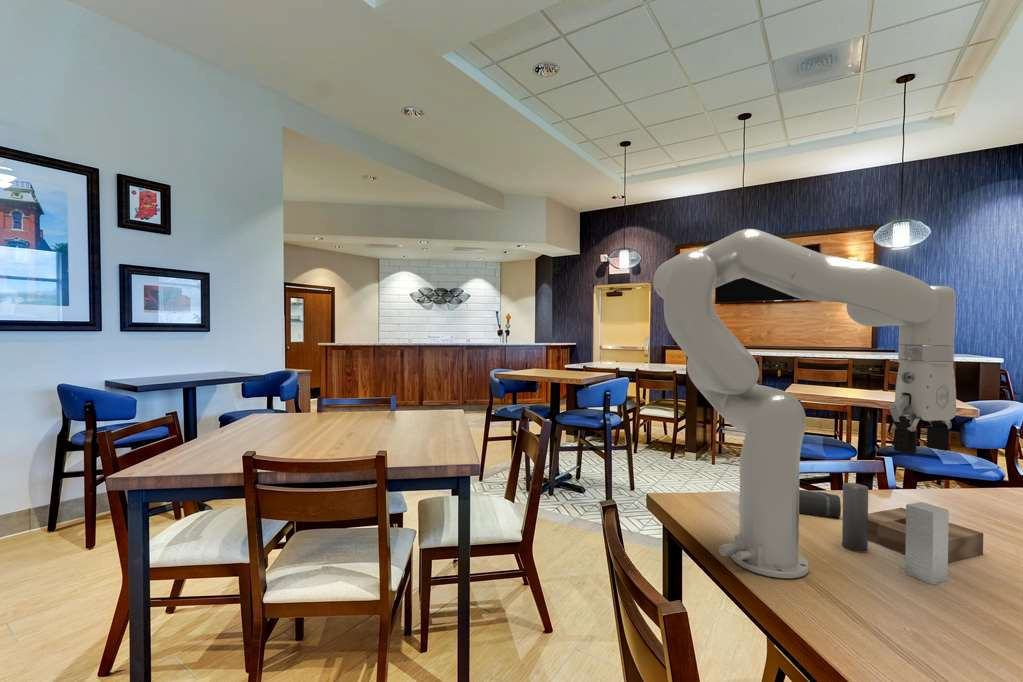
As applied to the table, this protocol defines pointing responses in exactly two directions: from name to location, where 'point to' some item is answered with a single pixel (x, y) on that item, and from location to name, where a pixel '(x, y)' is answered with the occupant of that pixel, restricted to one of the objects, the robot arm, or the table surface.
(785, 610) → the table surface
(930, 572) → the square bit
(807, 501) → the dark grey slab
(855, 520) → the round bit
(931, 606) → the table surface
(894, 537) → the bore block
